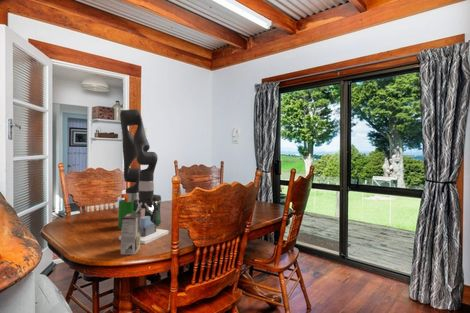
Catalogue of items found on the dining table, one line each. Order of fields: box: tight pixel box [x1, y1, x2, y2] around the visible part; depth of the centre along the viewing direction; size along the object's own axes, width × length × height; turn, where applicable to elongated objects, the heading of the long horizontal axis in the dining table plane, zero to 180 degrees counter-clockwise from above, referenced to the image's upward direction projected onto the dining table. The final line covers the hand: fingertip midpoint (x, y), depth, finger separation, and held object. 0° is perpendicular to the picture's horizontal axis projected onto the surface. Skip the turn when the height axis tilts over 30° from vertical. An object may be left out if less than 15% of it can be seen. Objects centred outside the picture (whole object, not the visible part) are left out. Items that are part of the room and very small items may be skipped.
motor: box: [117, 193, 136, 230], centre depth 159 cm, size 10×9×20 cm
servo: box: [141, 215, 154, 229], centre depth 144 cm, size 10×4×8 cm, turn 160°
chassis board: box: [118, 224, 169, 245], centre depth 144 cm, size 20×16×6 cm
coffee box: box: [120, 213, 142, 255], centre depth 123 cm, size 9×6×16 cm
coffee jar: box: [144, 194, 162, 227], centre depth 168 cm, size 10×8×19 cm
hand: (145, 220), depth 144 cm, fingers open, 8 cm apart
